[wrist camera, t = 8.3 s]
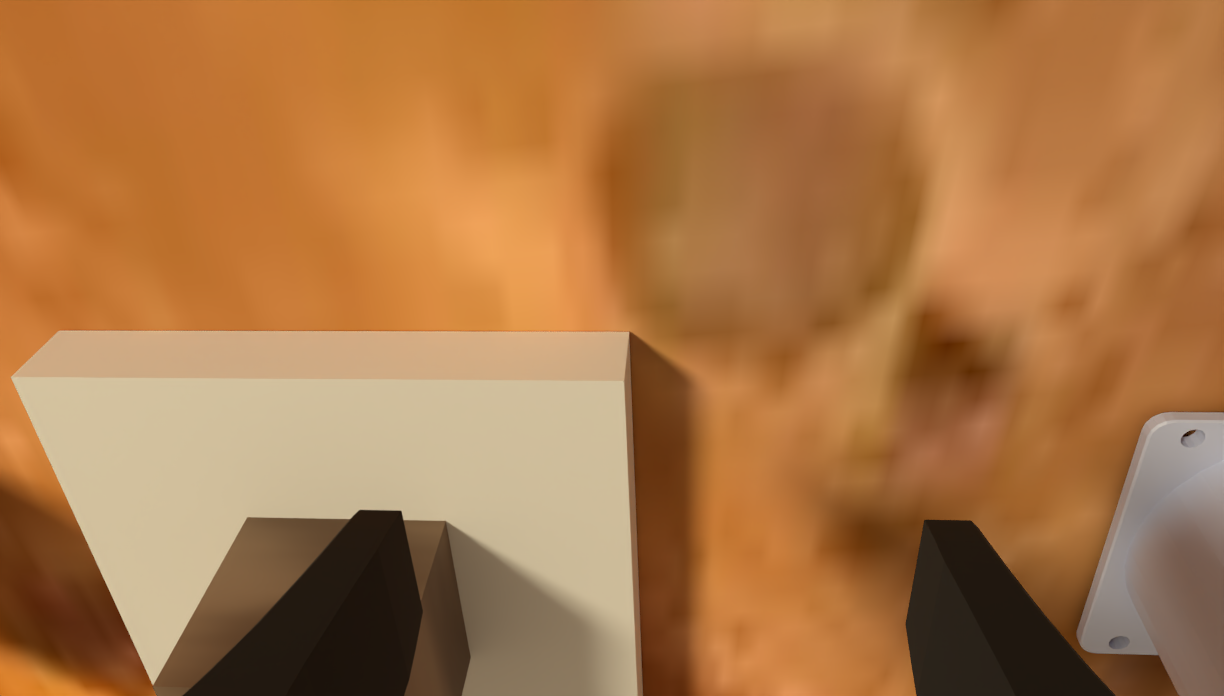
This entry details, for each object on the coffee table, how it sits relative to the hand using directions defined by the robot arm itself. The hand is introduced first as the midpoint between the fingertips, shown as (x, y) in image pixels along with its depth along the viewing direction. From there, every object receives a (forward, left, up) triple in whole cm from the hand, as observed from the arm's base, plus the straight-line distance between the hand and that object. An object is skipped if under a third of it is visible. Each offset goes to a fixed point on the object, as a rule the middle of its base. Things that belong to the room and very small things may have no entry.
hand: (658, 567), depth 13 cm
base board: (+8, +9, -9) cm, 15 cm away
